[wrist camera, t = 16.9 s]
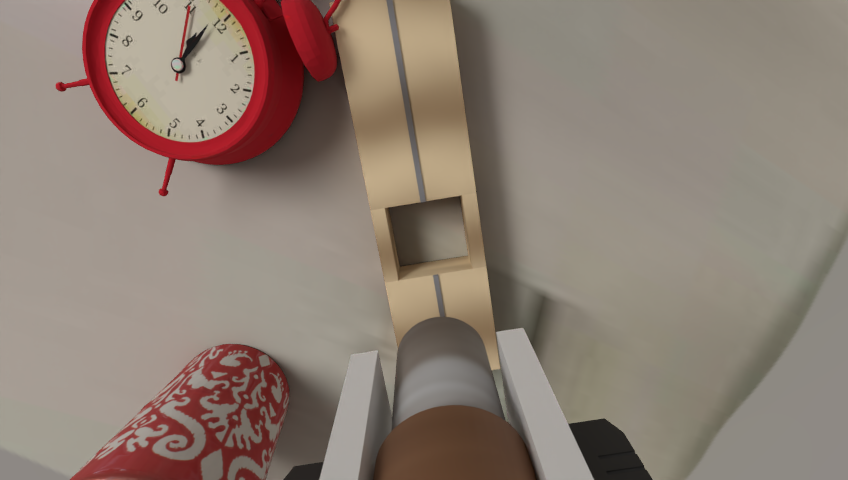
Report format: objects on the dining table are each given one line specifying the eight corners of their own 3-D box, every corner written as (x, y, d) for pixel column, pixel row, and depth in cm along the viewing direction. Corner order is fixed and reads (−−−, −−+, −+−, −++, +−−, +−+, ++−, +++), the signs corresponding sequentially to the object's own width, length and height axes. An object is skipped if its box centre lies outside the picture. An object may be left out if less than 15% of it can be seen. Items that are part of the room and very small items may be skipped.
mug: (221, 302, 32) (87, 442, 19) (331, 383, 34) (277, 563, 21) (114, 428, 34) (-69, 629, 21) (222, 498, 36) (113, 723, 23)
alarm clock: (16, 69, 24) (175, -208, 18) (113, 57, 30) (261, -157, 24) (173, 225, 26) (365, 25, 20) (236, 188, 32) (402, 22, 26)
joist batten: (336, 11, 27) (328, 2, 25) (444, -9, 27) (447, -19, 24) (405, 362, 33) (404, 384, 31) (494, 348, 33) (500, 369, 31)
